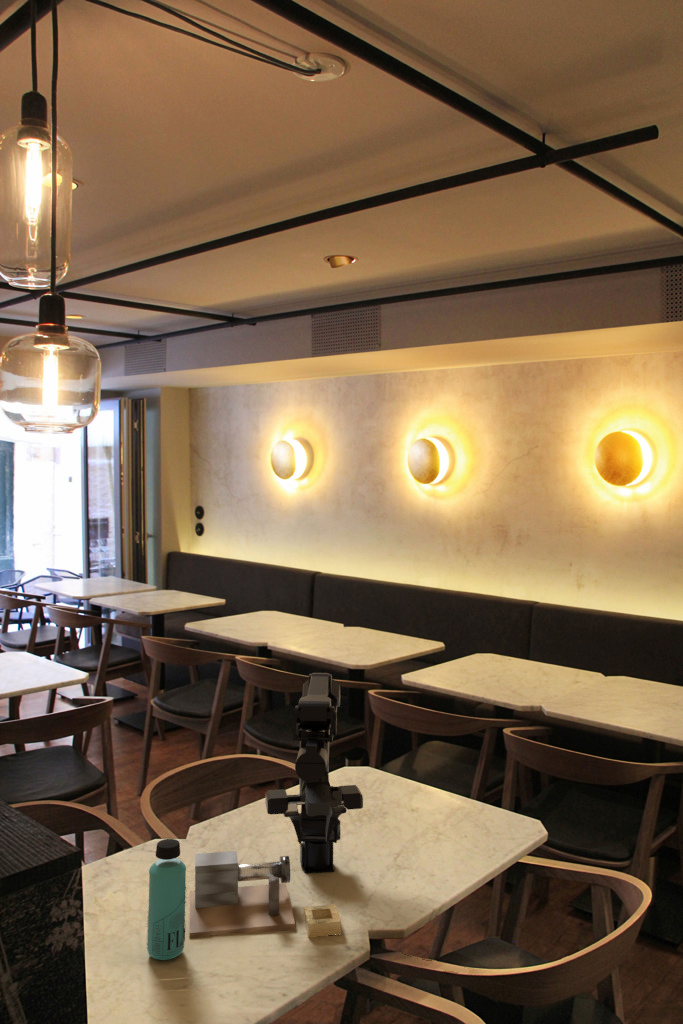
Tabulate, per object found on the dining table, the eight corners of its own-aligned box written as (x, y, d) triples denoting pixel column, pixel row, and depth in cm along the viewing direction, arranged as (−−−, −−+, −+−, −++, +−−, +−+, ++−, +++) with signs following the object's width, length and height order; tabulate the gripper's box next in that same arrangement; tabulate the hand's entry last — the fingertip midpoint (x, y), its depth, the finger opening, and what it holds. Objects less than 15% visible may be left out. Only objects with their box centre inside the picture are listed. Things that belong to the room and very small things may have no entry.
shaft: (287, 875, 158) (287, 851, 158) (290, 887, 153) (290, 862, 153) (213, 881, 156) (213, 857, 155) (213, 893, 151) (213, 868, 151)
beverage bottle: (165, 974, 132) (169, 854, 131) (137, 960, 135) (140, 844, 135) (192, 955, 137) (196, 840, 137) (164, 943, 141) (168, 831, 140)
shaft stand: (286, 888, 160) (286, 843, 160) (295, 929, 145) (295, 880, 145) (190, 896, 156) (190, 851, 156) (189, 939, 142) (189, 889, 141)
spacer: (335, 917, 150) (335, 904, 149) (340, 935, 144) (341, 921, 144) (303, 920, 148) (303, 907, 148) (308, 938, 143) (308, 924, 142)
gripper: (270, 781, 146) (269, 864, 147) (369, 775, 150) (368, 857, 150) (265, 761, 157) (264, 838, 158) (357, 756, 161) (356, 832, 161)
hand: (313, 842), depth 156 cm, fingers open, 5 cm apart
